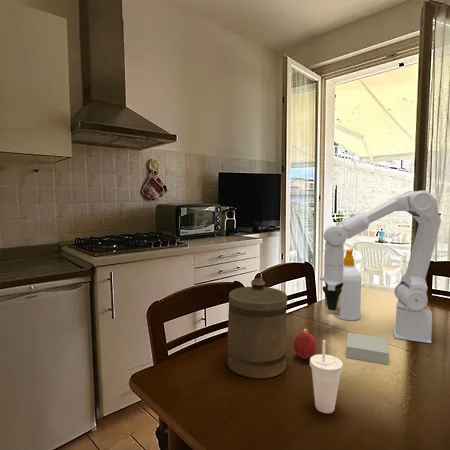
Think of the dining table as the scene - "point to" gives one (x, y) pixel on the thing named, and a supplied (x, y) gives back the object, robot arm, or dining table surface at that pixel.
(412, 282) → the robot arm
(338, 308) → the block
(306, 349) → the onion
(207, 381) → the dining table surface
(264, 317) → the wooden container
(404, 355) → the dining table surface
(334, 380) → the smoothie
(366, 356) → the base
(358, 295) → the soap bottle
